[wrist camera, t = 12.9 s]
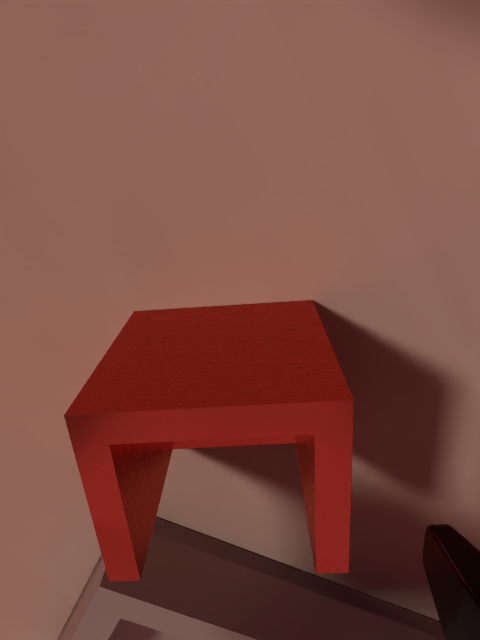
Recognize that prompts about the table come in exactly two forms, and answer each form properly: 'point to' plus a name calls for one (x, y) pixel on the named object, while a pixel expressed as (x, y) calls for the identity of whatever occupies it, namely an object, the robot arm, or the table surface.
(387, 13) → the table surface
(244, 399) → the red arch stool
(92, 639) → the slate tray
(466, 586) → the robot arm
